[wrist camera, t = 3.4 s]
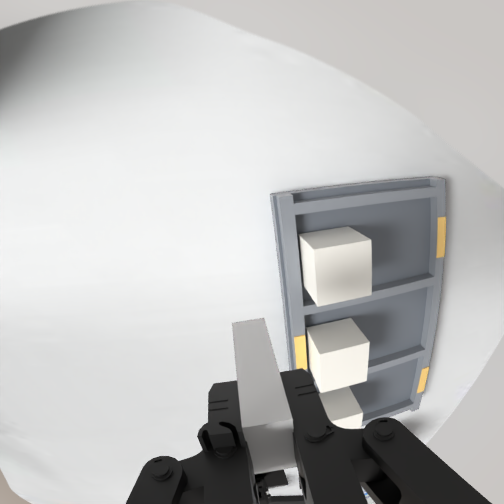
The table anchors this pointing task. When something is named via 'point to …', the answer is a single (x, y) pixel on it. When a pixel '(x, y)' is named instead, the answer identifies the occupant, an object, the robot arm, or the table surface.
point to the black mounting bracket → (269, 483)
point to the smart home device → (287, 500)
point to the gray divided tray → (383, 280)
